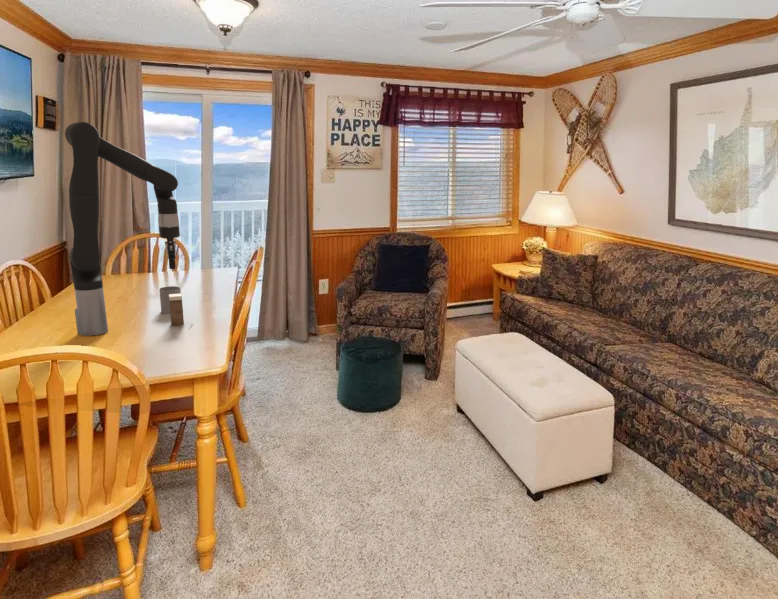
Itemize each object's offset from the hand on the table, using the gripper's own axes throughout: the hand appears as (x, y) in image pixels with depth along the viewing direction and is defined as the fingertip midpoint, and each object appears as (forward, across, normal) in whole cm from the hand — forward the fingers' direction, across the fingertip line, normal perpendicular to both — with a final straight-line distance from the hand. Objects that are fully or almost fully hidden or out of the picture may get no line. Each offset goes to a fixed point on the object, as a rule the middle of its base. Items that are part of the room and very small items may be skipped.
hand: (172, 267), depth 216 cm
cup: (+21, -13, -1) cm, 25 cm away
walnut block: (+21, +9, 0) cm, 23 cm away
